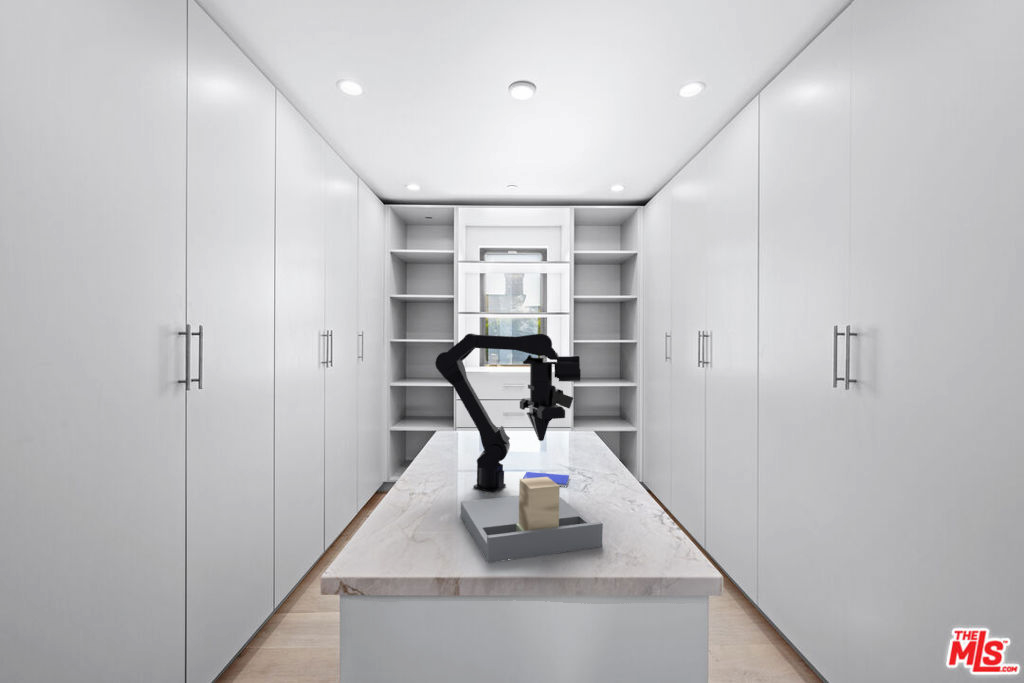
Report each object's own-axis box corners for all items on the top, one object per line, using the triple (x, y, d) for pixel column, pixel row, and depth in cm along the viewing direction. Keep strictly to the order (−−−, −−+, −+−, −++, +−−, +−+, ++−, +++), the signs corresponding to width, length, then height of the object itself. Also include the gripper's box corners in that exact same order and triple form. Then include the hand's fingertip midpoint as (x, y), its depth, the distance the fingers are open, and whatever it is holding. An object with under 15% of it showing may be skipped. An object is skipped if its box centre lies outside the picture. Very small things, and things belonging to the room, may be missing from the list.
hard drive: (521, 479, 128) (566, 483, 126) (526, 471, 136) (569, 474, 134) (521, 485, 128) (566, 489, 126) (526, 476, 136) (569, 479, 134)
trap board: (460, 514, 105) (460, 495, 105) (554, 504, 112) (554, 486, 112) (488, 562, 83) (488, 537, 83) (602, 546, 90) (602, 523, 90)
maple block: (518, 523, 93) (519, 479, 93) (546, 520, 95) (547, 476, 95) (529, 536, 87) (530, 488, 87) (558, 532, 89) (559, 485, 89)
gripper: (584, 383, 116) (584, 446, 116) (556, 377, 133) (556, 431, 134) (542, 385, 112) (542, 449, 112) (519, 378, 130) (519, 434, 130)
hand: (541, 440), depth 122 cm, fingers closed
